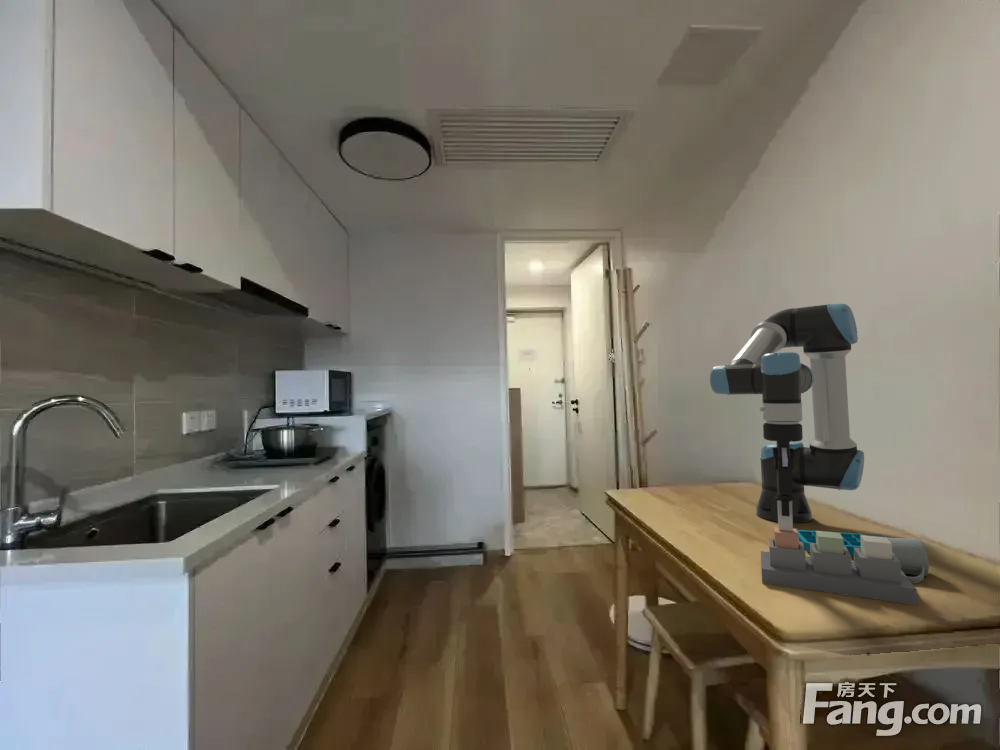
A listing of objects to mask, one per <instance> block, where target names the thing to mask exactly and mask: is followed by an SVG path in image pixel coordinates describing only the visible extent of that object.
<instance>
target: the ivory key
mask: <svg viewBox="0 0 1000 750" xmlns="http://www.w3.org/2000/svg"><path fill="white" fill-rule="evenodd" d="M887 538H888V537H886V536H884V537H877V536H866V535H860V539H861V553H862V555H863V556H864V557H871V558H880V559H889V560H892V544H891V542H890V541H889V540H888V539H887Z"/></svg>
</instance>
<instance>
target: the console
mask: <svg viewBox="0 0 1000 750" xmlns="http://www.w3.org/2000/svg"><path fill="white" fill-rule="evenodd" d="M760 565H761V566H760V567H761V582H762V584H768V585H774V586H781V587H789V588H796V589H802V590H808V591H809V590H810V591H815V592H824V593H831V594H838V595H843V594H844V596H850V595H851V596H852V597H858V598H865V599H866V598H867V599H872V600H877V601H885V602H893V603H900V604H908V605H913V606H917V605H918V594H917V592H918V591H917V588H916V586H914V583H911V582H910V580H909V579H908V578H907V577H908V575H907V574H904V573H903V571H902V570H901V562H900V561H899V559H898V558H897V557H896V556H895V554H894V553H893V552H892V560H889V559H880V558H871V557H864V556H863V555H862V553H861V548H855V547H854V557H853V561H852V556H851V555H850V553H849V552H848V550H847V548H846V546H844V554H836V553H827V552H818V551H817V550H816V543H810V553H809V556H806V549H805V548H804V545H803V542H799V549H792V548H783V547H775V542H774V538H770V537H769V538H768V551H764V550H763V551H762V550H761V551H760Z"/></svg>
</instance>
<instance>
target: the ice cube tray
mask: <svg viewBox="0 0 1000 750" xmlns="http://www.w3.org/2000/svg"><path fill="white" fill-rule="evenodd" d="M816 531H817V530H806V529H797V532H798V541H799V542H803V545H804V549H805V551H806V552H807V553H809V554H810V543H816ZM834 532H835V533H840V534H841V536H842V538H843V545H844V546H846V548H847V550H848V552H849V553H850V555H851V557H853V558H854V547H855V548H861V539H860V535H866V536H877V537H885V536H884V535H880V534H873V533H871V534H870V533H857V532H856V533H854V532H842V531H841V532H838V531H837V532H836V531H834Z"/></svg>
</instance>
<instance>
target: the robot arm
mask: <svg viewBox="0 0 1000 750" xmlns="http://www.w3.org/2000/svg"><path fill="white" fill-rule="evenodd" d="M858 336H859V335H858V328H857V323H856V319H855V316H854V312H853V310H852V308H851V307H850V306H849V305H848V304H846V303H827V304H820V305H813V306H811V305H810V306H803V307H792V308H786V309H783V310H780V311H778V312H775V313H773V314H771V315H769V316H768V317H766V318H764V319H763V320H761V321H760V322H759V323H758V324H757V325H756V326H755V327H754V328H753V329H752V331H751V334H750V338H749V340H748V341H747V342H746V343H745V344H744V346H743V347H742V348H741V349H740V350H739V351H738V353H737V354H736V355H735V356H734V357H733V359H731V361H730V362H729V363H728V364H722V365H715V366H714V367H713V368H712V369H711V371H710V373H709V374H710V376H709V383H710V387H711V389H712V392H713V393H715V394H717V395H727V396H729V395H762V407H759V411H760V412H763V413H762V420H763V421H765V422H764V423H763V424H762V427H763V428H762V430H763V431H762V435H763V439H764V440H766V441H770V442H772V443H768V444H763V446H762V447H761V448H760V449H761V450H760V459H759V460H760V469H761V470H760V472H761V473H760V474H761V492H760V496H759V498H758V501H757V504H756V516H758V517H759V518H762V519H765V520H768V521H773V522H777V524H778V525H777V527H778V528H779V530H785V531H793V529H794V526H793V525H794V524H799V523H800V524H802V523H808V522H809V523H810V522H811V521H812V520H813V512H812V510H811V506H810V504H809V502H808V499H807V497H806V494H805V493H806V492H805V486H807V487H815V488H824V489H832V490H838V491H841V490H842V491H856V490H857V489H858V488H859V487H860V485H861V482H862V477H863V474H864V473H863V472H864V467H865V453H864V451H863V450H861V449H858V445H857V443H856V441H854V440H853V439H852V438H851V434H850V416H849V402H848V401H849V399H848V398H849V397H848V381H847V367H846V366H847V363H846V356H847V355H848V354H849V353H850V352H851V351H852V345H855V344H856V343H857V342H858V339H859V338H858ZM800 347H802V349H803V354H804V355H806V356H807V358H809V365H810V367H809V366H807V365H806V364H803V363H801V358H800V357H801V356H800V355H799V353H798V352H789V351H788V352H778V351H781V350H782V349H785V348H800ZM810 389H811V396H812V413H813V427H814V428H813V429H814V430H813V431H814V438H813V439H812V440H811V441H810V440H809V447H806V446H805V445H804V443H803V442H801V441H802V440H803V425H802V424H801V423H800V422H802V421H803V402H802V394H804V393H806V392H808V391H809V390H810ZM773 442H774V443H773ZM804 446H805V447H804Z"/></svg>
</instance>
